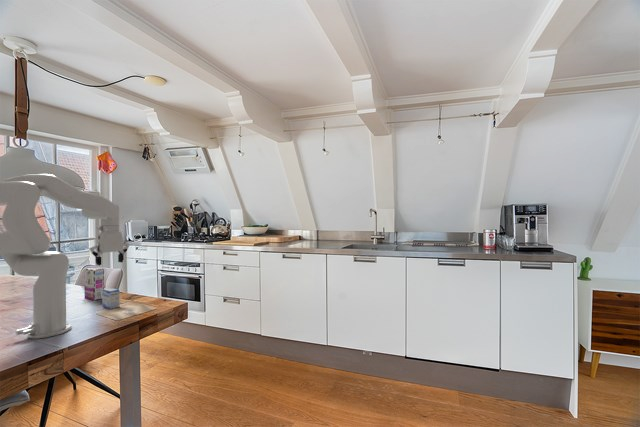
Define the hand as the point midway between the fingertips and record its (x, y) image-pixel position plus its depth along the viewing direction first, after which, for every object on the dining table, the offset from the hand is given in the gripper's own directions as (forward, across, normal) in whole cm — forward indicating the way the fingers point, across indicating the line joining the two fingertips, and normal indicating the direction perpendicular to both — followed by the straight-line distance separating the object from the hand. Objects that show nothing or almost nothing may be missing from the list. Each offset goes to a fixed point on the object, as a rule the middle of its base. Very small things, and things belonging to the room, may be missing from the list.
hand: (110, 263), depth 147 cm
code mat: (+22, 0, -15) cm, 26 cm away
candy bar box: (+22, +4, +24) cm, 33 cm away
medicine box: (+22, 0, 0) cm, 22 cm away
